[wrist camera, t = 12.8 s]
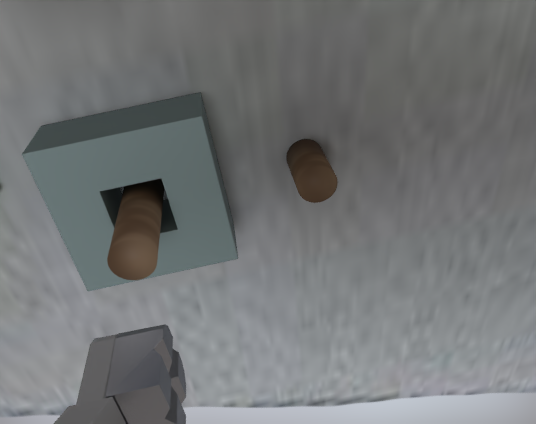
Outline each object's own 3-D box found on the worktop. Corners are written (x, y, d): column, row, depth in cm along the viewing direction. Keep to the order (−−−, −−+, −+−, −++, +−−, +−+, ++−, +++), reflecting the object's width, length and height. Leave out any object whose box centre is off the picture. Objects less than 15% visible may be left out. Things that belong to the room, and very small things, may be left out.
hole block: (200, 92, 37) (201, 116, 33) (233, 224, 44) (238, 258, 39) (41, 126, 37) (21, 154, 33) (97, 253, 43) (87, 291, 39)
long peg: (159, 159, 40) (148, 236, 30) (169, 191, 41) (163, 274, 32) (121, 167, 40) (100, 247, 30) (133, 199, 41) (116, 284, 32)
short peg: (320, 135, 40) (335, 162, 36) (324, 168, 42) (339, 197, 38) (283, 143, 40) (294, 171, 36) (289, 175, 42) (300, 206, 38)
